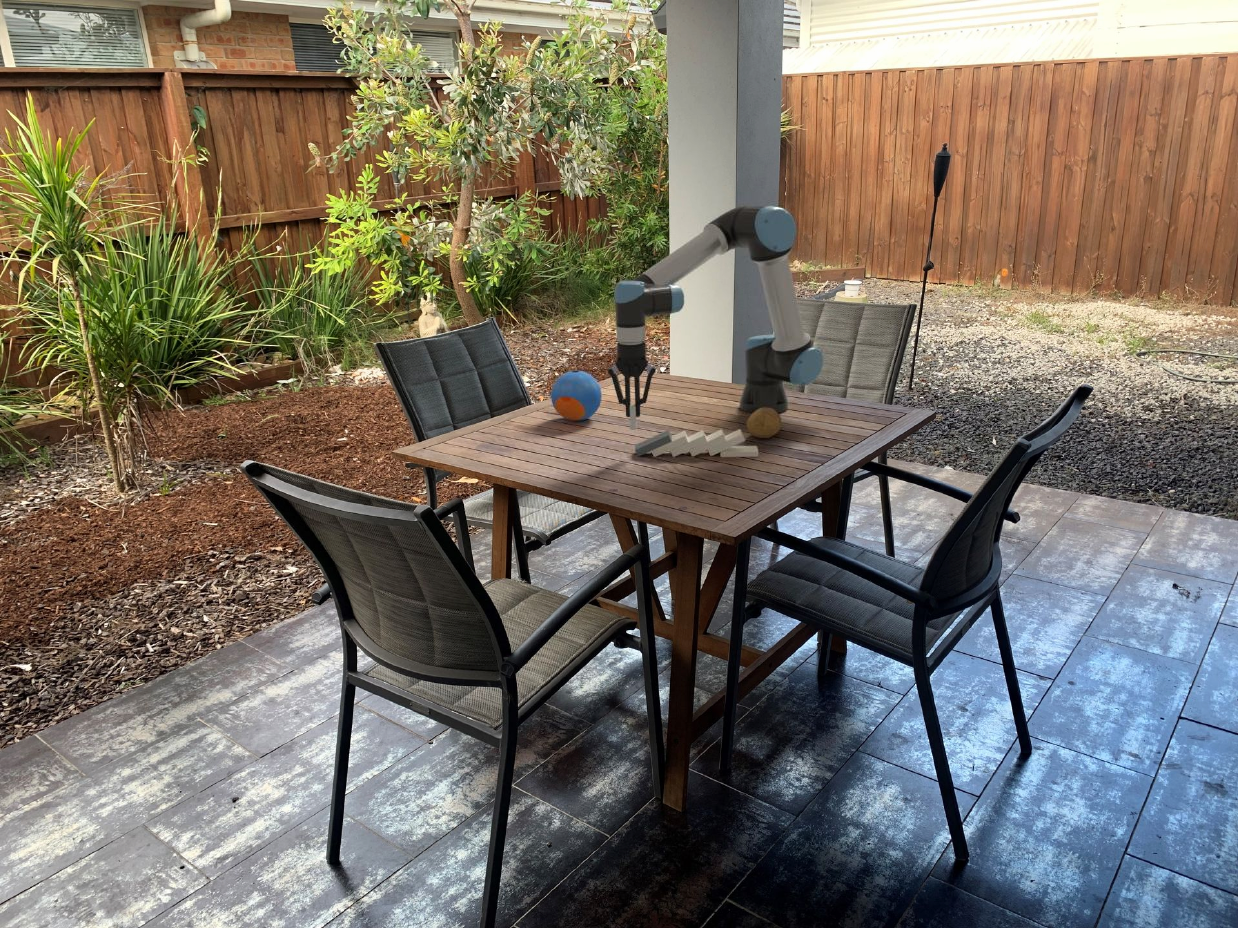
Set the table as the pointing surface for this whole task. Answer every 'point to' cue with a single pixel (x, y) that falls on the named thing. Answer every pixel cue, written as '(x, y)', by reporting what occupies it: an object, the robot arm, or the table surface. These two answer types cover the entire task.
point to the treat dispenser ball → (576, 395)
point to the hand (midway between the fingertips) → (633, 428)
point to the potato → (764, 423)
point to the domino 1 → (653, 443)
